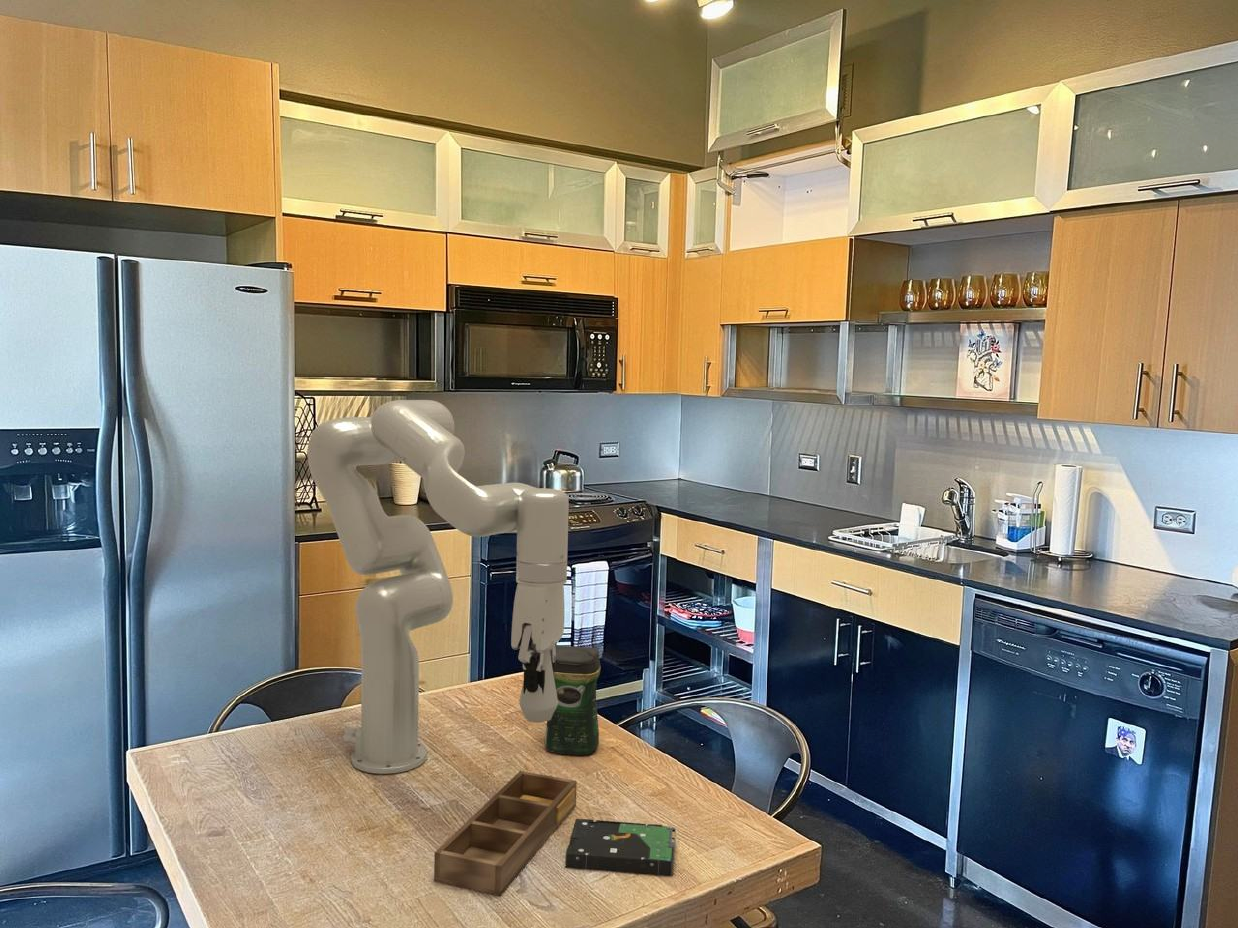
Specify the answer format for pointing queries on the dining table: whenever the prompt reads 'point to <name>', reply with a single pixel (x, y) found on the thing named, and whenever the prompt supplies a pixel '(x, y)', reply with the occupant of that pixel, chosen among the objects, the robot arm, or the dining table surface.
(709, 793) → the dining table surface
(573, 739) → the coffee jar
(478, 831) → the wooden compartment tray
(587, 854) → the disk drive
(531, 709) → the salt shaker
